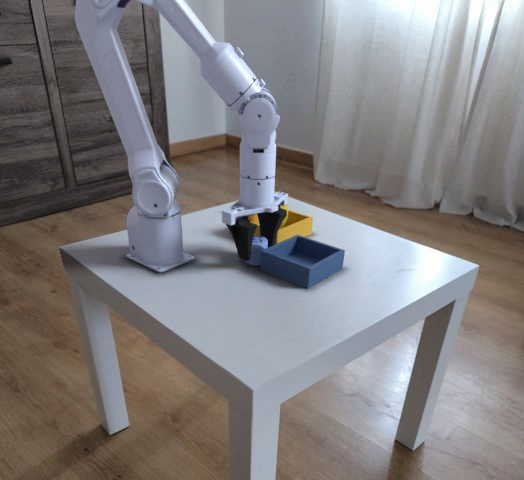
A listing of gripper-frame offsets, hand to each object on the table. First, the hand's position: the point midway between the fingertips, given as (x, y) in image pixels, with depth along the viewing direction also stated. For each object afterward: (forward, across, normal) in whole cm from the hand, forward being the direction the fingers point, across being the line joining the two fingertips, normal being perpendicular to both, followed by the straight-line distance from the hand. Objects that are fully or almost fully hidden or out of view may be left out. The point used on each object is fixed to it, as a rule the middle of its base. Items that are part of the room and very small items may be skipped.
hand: (255, 253), depth 86 cm
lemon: (+1, +12, +6) cm, 14 cm away
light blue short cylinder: (+2, 0, 0) cm, 2 cm away
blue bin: (+1, +3, -8) cm, 9 cm away
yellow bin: (+1, +12, +6) cm, 13 cm away
